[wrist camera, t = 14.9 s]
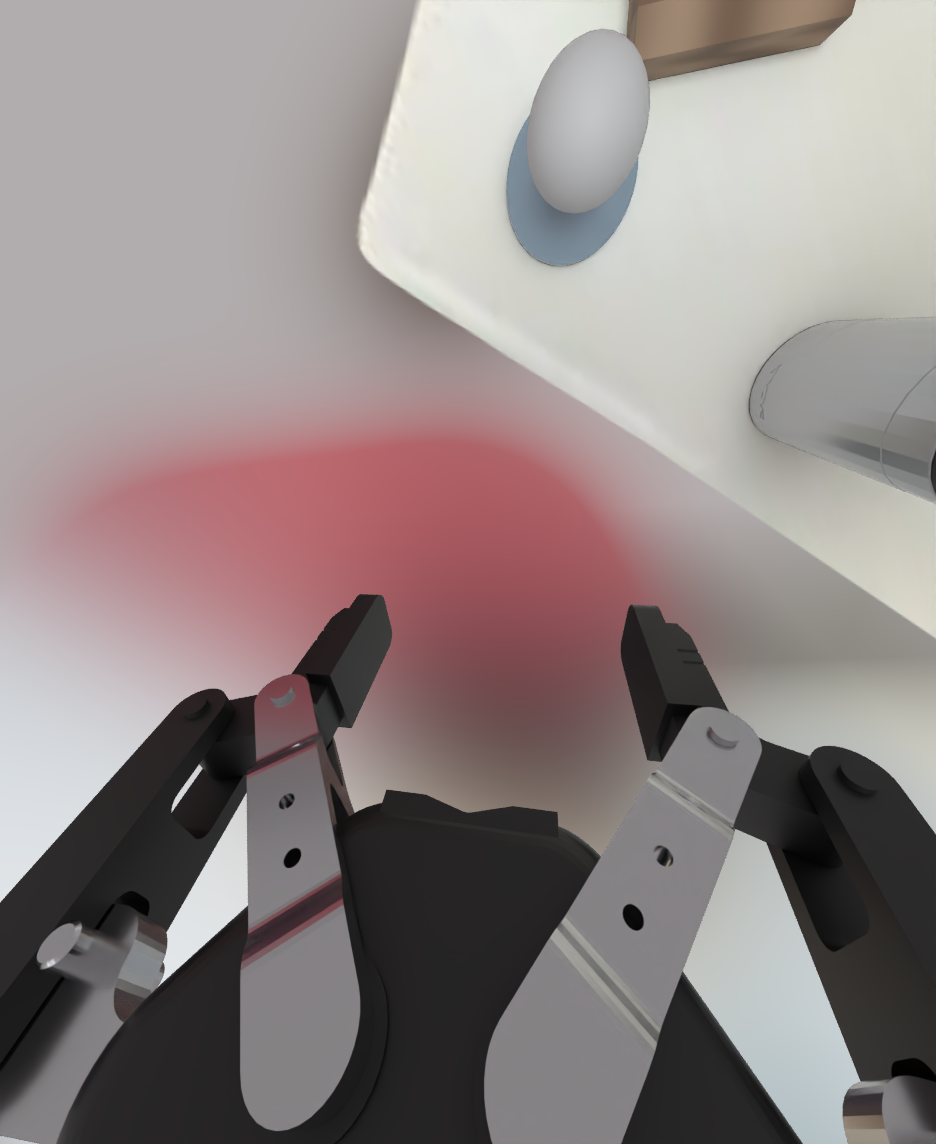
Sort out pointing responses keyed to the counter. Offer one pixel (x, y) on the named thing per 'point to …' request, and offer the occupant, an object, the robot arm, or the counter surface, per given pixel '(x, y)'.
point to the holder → (726, 30)
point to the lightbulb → (588, 121)
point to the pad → (559, 215)
